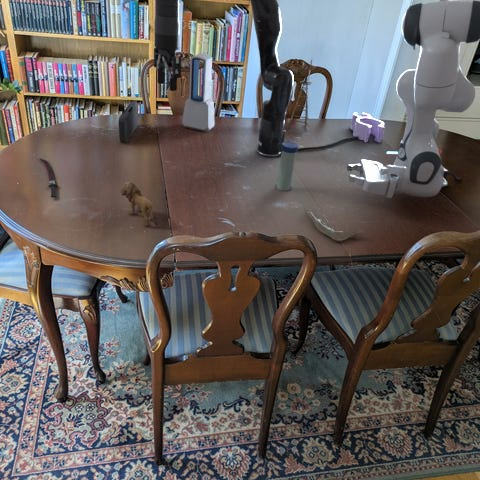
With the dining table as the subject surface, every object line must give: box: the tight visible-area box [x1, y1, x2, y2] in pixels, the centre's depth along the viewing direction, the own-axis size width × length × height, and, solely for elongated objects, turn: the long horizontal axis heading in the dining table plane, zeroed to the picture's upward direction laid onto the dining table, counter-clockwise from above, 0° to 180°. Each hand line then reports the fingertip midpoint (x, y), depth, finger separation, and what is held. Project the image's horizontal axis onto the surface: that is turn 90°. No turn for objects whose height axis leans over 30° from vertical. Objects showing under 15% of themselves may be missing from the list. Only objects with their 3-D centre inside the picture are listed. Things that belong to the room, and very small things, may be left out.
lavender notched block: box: [349, 112, 386, 143], centre depth 214 cm, size 20×12×7 cm, turn 11°
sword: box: [40, 158, 59, 198], centre depth 151 cm, size 31×3×1 cm, turn 26°
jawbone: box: [303, 208, 364, 243], centre depth 139 cm, size 9×20×2 cm, turn 50°
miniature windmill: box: [288, 59, 313, 132], centre depth 208 cm, size 9×8×30 cm
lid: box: [281, 141, 299, 154], centre depth 153 cm, size 5×5×2 cm
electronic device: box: [181, 53, 216, 133], centre depth 194 cm, size 12×8×30 cm, turn 71°
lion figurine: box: [119, 181, 159, 227], centre depth 134 cm, size 15×5×9 cm, turn 50°
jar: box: [276, 151, 297, 192], centre depth 157 cm, size 5×5×15 cm
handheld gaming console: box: [117, 101, 139, 143], centre depth 187 cm, size 23×3×10 cm, turn 178°
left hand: (166, 86), depth 148 cm, fingers open, 8 cm apart
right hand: (348, 172), depth 155 cm, fingers open, 8 cm apart
